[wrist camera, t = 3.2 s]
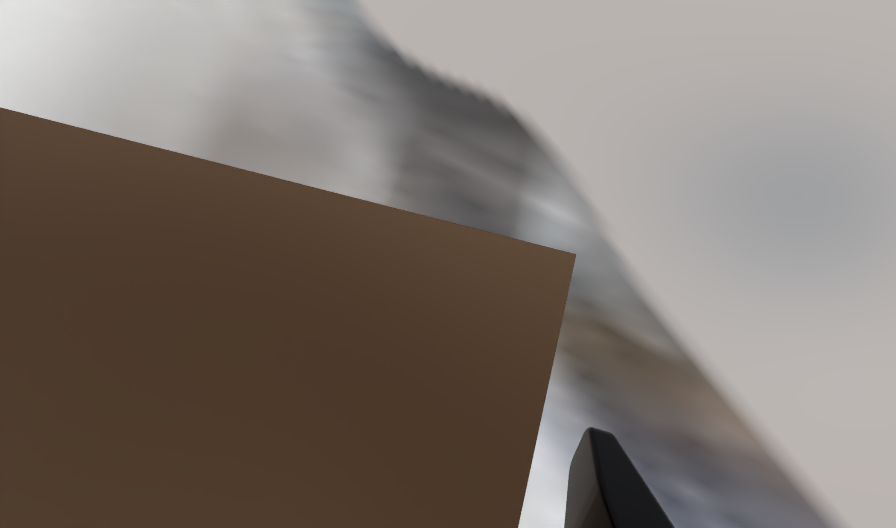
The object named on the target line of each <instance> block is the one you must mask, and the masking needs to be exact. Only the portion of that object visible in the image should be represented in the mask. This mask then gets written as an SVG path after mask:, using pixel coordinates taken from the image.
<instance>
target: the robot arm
mask: <svg viewBox="0 0 896 528" xmlns="http://www.w3.org/2000/svg"><path fill="white" fill-rule="evenodd" d="M564 528H675V527H674V526H673V524H672V523H671V521H670V520H669V518H668V517H667V515H666V514H665V512H664V510H663V509H662V507H661V506H660V504H659V503H658V501H657V500H656V498H655V497H654V495H653V494H652V492H651V491H650V489H649V488H648V486H647V485H646V483H645V482H644V480H643V479H642V477H641V475H640V474H639V472H638V471H637V469H636V468H635V466H634V465H633V463H632V462H631V460H630V459H629V457H628V456H627V454H626V453H625V451H624V450H623V448H622V447H621V445H620V443H619V442H618V440H617V439H616V437H615V436H614V435H613V434H612V433H609V432H606V431H603V430H599V429H596V428H593V427H590V428H587V429H586V430H585V432H584V434H583V436H582V438H581V441H580V443H579V445H578V447H577V450H576V452H575V454H574V456H573V459H572V462H571V465H570V470H569V479H568V491H567V502H566V514H565V526H564Z"/></svg>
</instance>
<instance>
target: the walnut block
mask: <svg viewBox="0 0 896 528" xmlns="http://www.w3.org/2000/svg"><path fill="white" fill-rule="evenodd" d="M575 257H576V254H573V253H569V252H565V251H561V250H557V249H553V248H549V247H545V246H541V245H537V244H533V243H529V242H525V241H522V240H518V239H514V238H510V237H506V236H502V235H498V234H494V233H490V232H486V231H482V230H478V229H475V228H471V227H467V226H463V225H459V224H455V223H451V222H447V221H443V220H439V219H435V218H431V217H427V216H424V215H420V214H416V213H412V212H408V211H404V210H400V209H396V208H392V207H388V206H384V205H380V204H377V203H373V202H369V201H365V200H361V199H357V198H353V197H349V196H345V195H341V194H337V193H333V192H329V191H326V190H322V189H318V188H314V187H310V186H306V185H302V184H298V183H294V182H290V181H286V180H282V179H278V178H275V177H271V176H267V175H263V174H259V173H255V172H251V171H247V170H243V169H239V168H235V167H231V166H228V165H224V164H220V163H216V162H212V161H208V160H204V159H200V158H196V157H192V156H188V155H184V154H180V153H177V152H173V151H169V150H165V149H161V148H157V147H153V146H149V145H145V144H141V143H137V142H133V141H129V140H126V139H122V138H118V137H114V136H110V135H106V134H102V133H98V132H94V131H90V130H86V129H82V128H79V127H75V126H71V125H67V124H63V123H59V122H55V121H51V120H47V119H43V118H39V117H35V116H31V115H28V114H24V113H20V112H16V111H12V110H8V109H4V108H0V528H518V525H519V520H520V515H521V511H522V506H523V501H524V497H525V492H526V487H527V482H528V478H529V473H530V468H531V464H532V459H533V454H534V450H535V445H536V440H537V436H538V431H539V426H540V422H541V417H542V412H543V407H544V403H545V398H546V393H547V389H548V384H549V379H550V375H551V370H552V365H553V361H554V356H555V351H556V346H557V342H558V337H559V332H560V328H561V323H562V318H563V314H564V309H565V304H566V300H567V295H568V290H569V286H570V281H571V276H572V271H573V267H574V262H575Z"/></svg>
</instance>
